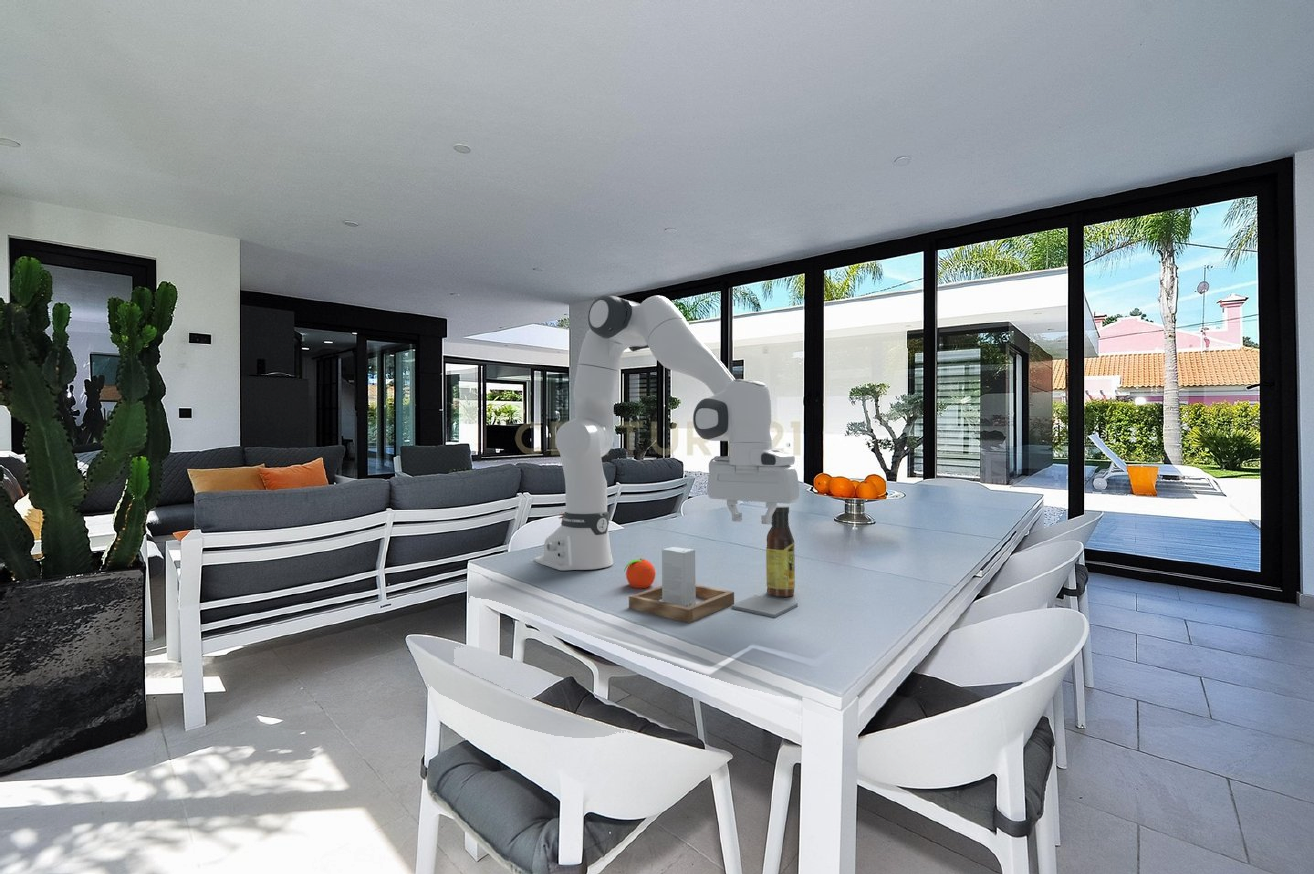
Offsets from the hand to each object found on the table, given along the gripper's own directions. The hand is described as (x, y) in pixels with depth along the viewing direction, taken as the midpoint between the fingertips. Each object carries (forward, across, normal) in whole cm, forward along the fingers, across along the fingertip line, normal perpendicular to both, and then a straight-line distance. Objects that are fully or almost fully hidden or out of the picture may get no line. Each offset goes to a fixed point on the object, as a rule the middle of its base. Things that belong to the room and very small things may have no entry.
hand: (751, 522), depth 122 cm
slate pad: (+18, +2, +2) cm, 18 cm away
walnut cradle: (+18, -12, -8) cm, 23 cm away
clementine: (+18, -28, -4) cm, 33 cm away
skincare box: (+18, -13, -9) cm, 24 cm away
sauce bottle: (+18, 0, +13) cm, 22 cm away
